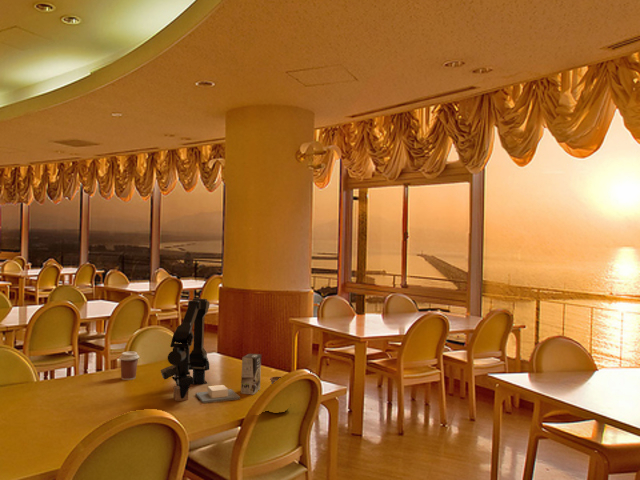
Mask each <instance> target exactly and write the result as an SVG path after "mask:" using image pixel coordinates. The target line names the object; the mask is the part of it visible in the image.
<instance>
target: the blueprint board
mask: <svg viewBox="0 0 640 480" xmlns="http://www.w3.org/2000/svg"><path fill="white" fill-rule="evenodd" d="M195 396H196V397H197V398H198V399H199V400H200V402H201V403H202V404H209V403H216V402H217V403H218V402H227V401H235V400H240V399H241V396H240V395H239V394H237V393H236V392H235V391H234V390H233V389H232V388H228V387H226V386H225V385H224V384H220V385H212V386H211V385H209V386H207V391H201V392H200V391H199V392H195Z"/></svg>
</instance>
